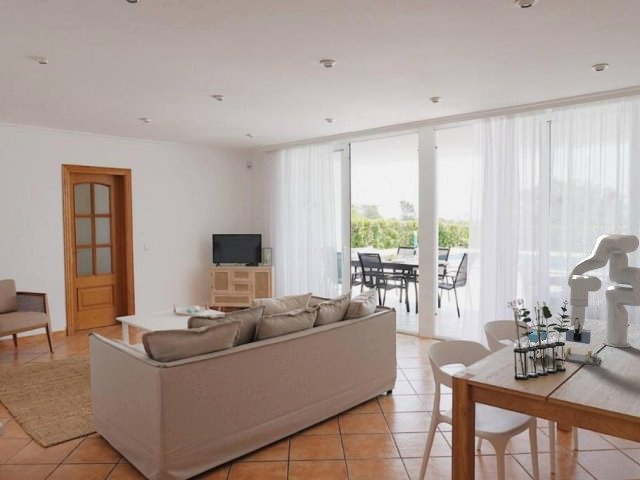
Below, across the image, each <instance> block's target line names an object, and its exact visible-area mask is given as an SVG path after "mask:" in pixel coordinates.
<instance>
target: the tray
mask: <svg viewBox="0 0 640 480" xmlns="http://www.w3.org/2000/svg"><path fill="white" fill-rule="evenodd" d="M566 349H567V350H564V357H565V361H566V362H571V363H576V362H578V364H582V363H583V365H591V366H596V367H598V366H599V365H600V362H601V359H602V357H601V356H598V353H597V352H594V353H592V352H593V351H592V350H590V349H588V350H587V354H582V353H581V354H580V353H574V352H572V347H569V346H568V347H567V348H566Z"/></svg>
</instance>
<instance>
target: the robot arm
mask: <svg viewBox="0 0 640 480" xmlns="http://www.w3.org/2000/svg"><path fill="white" fill-rule="evenodd" d="M639 240H640V239H639V238H638V237H637V236H636V235H633V234H615V233H614V234H613V233H612V234H605V235H602V236H599V237H598V238H597V239H596V241H595V242H594V245H593V247H592V249H591V251H590V254H589V256H588V257H587V258H585V259H583V260H581V261H580V262H578V263H577V264H576V265H575V266H574V267H573V268H572V270H571V272H570V274H569V276H568V279H567V283H568V284H567V285H568V287H569V288H570V301H569V303H570V305H569V306H571V307H572V308H571V315H570V316H571V317H570V326H571V327H573V326H574V327H573V328H574V339H573V340H574V341H577V342H581V329H584V328H583V327H584V326H585V321H586V308H588V307H589V292H593V293H594V292H597V291H599V290H600V289H601V288H602V280H601V279H600V278H599V277H598V276H592V275H585V273H587V272H591V271H594V270H598V269H603V268H604V267H606V266H607V264H608V265H609V266H608V267H609V268H608V276H609V277H608V278H609V281H610V282H611V283H613V284H617V285H611V286H609V287H607V288H606V290H605V301H606V335H605V337H606V338H605V339H603V340H602V344H604V345H606V346H609V347H613V348H623V349H624V348H630V347H631V343H630V342H628V328H629V327H628V322H629V312H628V310H627V308H626V307H625V306H631V307H640V267H636V266H629V256H628V254H629V253H633V252H635V251H636V250H637V249H638V248H639V246H640V241H639ZM618 285H619V286H618ZM620 285H627V286H620ZM629 286H631V287H629ZM577 342H576V343H577Z"/></svg>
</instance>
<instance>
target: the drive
mask: <svg viewBox="0 0 640 480" xmlns="http://www.w3.org/2000/svg"><path fill="white" fill-rule="evenodd" d="M567 328H568V329H569V330H568V331H566V330H565V342H571V343H579V344H585V345H586V344H587V345H590V344H591V335H592V334H591V333H592V332H591V329H587V328H586V329H584V328H583V329H581V342H577V341H574V340H573V339H574V327H566V329H567Z"/></svg>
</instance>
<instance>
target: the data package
mask: <svg viewBox="0 0 640 480" xmlns="http://www.w3.org/2000/svg"><path fill="white" fill-rule="evenodd" d="M532 332H533V333H531V332H530V333H531V334H530V335H529V334H528V336H529V340H530V342H535V343H537V342H538V335H537V332H536V330H534V331H532ZM546 338H547V339H548V337H547V334H546V333H545V332H541V340H542V341H543V340H546ZM538 353H539V351H537V354H538Z"/></svg>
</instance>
